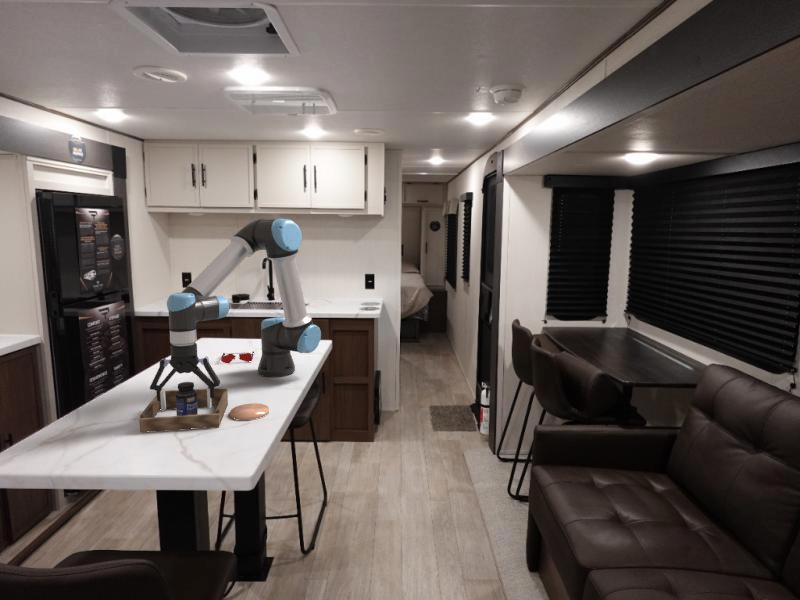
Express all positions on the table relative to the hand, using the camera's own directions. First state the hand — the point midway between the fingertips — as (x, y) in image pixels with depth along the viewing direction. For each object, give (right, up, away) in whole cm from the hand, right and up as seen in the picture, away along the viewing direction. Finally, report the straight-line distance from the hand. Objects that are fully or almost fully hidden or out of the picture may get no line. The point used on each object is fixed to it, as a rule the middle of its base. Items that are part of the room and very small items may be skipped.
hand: (186, 409), depth 154 cm
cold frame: (0, -3, 0) cm, 3 cm away
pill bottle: (0, -3, 0) cm, 3 cm away
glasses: (-8, +7, +72) cm, 73 cm away
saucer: (+19, -2, +4) cm, 19 cm away
